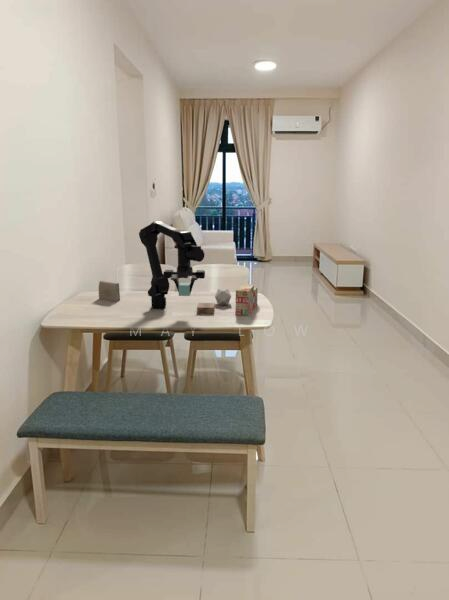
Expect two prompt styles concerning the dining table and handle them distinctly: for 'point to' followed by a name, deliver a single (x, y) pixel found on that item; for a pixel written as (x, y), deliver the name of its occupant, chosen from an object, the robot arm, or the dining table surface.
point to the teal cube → (184, 289)
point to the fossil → (109, 291)
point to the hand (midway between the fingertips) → (184, 292)
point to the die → (223, 296)
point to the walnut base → (205, 308)
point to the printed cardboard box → (245, 299)
